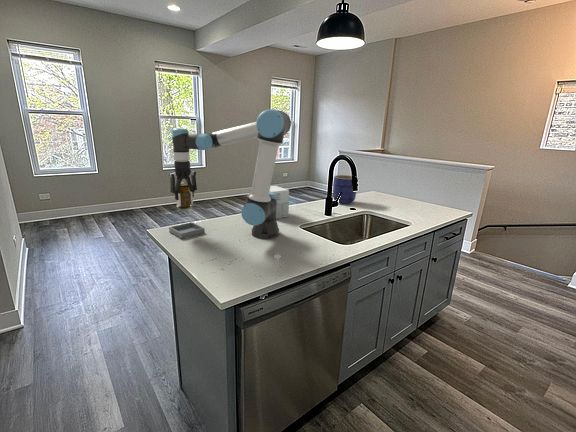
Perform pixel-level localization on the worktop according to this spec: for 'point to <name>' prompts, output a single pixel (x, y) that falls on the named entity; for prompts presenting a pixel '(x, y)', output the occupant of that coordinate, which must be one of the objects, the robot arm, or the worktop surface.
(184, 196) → the condiment
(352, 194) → the planter
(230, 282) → the worktop surface
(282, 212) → the supplement box
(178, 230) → the bin
